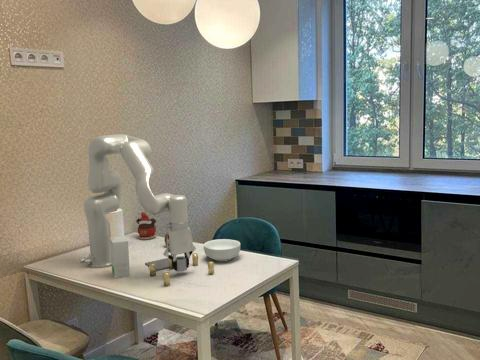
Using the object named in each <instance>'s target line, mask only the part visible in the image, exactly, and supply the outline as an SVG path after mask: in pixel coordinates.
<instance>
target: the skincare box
mask: <svg viewBox="0 0 480 360" xmlns="http://www.w3.org/2000/svg"><path fill="white" fill-rule="evenodd" d="M110 246H111V261H112V265H111V271H112V272H111V273H112V275H113V277H114V279H120V278H126V277H130V275H131V274H130V273H131V271H130V256H129V253H130V252H129V241H128V238H127V237H126V236H125V235H121V236H114V237H112V236H111V238H110Z"/></svg>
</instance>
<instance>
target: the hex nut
mask: <svg viewBox="0 0 480 360" xmlns="http://www.w3.org/2000/svg"><path fill="white" fill-rule="evenodd" d="M176 261H177V270H176V271H175V272H178V273H179V272H186V270H188V268H187V258H186V257H185V255H184V256H176Z"/></svg>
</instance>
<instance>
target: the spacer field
mask: <svg viewBox="0 0 480 360" xmlns="http://www.w3.org/2000/svg"><path fill="white" fill-rule="evenodd" d="M191 256H192V257H191V258H192V266H193V267H197V266H199V255H198V253H197V252H196V253H194V252H193V253H192V254H191ZM148 268H149V276H150V277H156V276H157V271H156V269H155V263H150V264H149V266H148ZM168 269H169V270H170V271H171V270H174V269H173V268H172V260H171V259H169V268H168ZM207 271H208V272H207V273H208V275H211V276H213V275H215V262H214V261H212V260H211V261H210V260H209V261H208V262H207ZM170 275H171V274H170V272H169V271H164V272H162V276H163V278H162V279H163V287H170V286H171V277H170Z"/></svg>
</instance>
